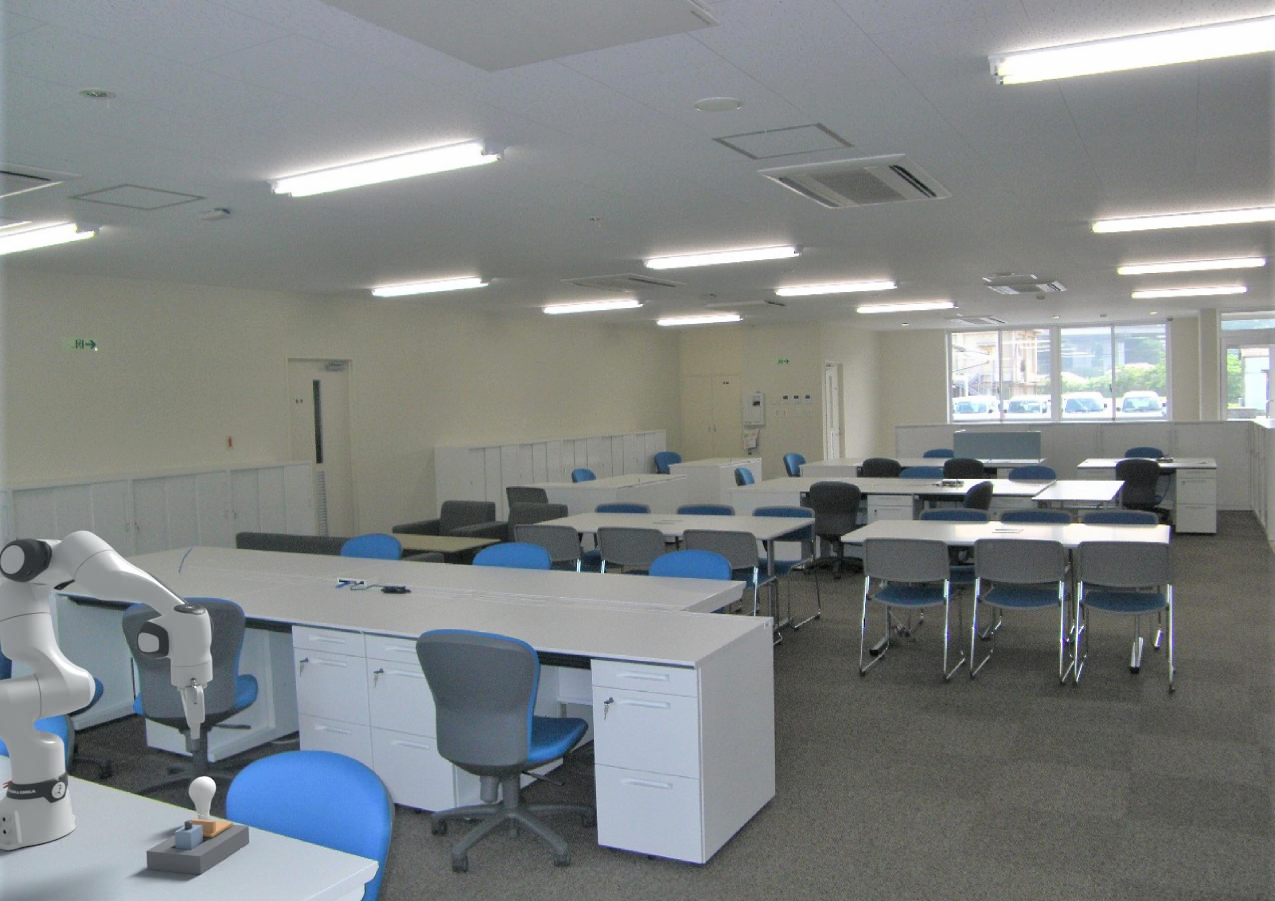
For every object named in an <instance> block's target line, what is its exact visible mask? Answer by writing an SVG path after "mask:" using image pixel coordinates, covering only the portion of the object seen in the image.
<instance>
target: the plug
mask: <svg viewBox="0 0 1275 901" xmlns="http://www.w3.org/2000/svg"><path fill="white" fill-rule="evenodd" d="M183 824H184V825H183V826H181V827H179V829H176V831H174V835H175V848H176V849H184V850H192V849H194V848H195V847H197V846H199V845H200V844H202V843H203V827H202V825H192V819H190V820H186V821H184V823H183Z"/></svg>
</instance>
